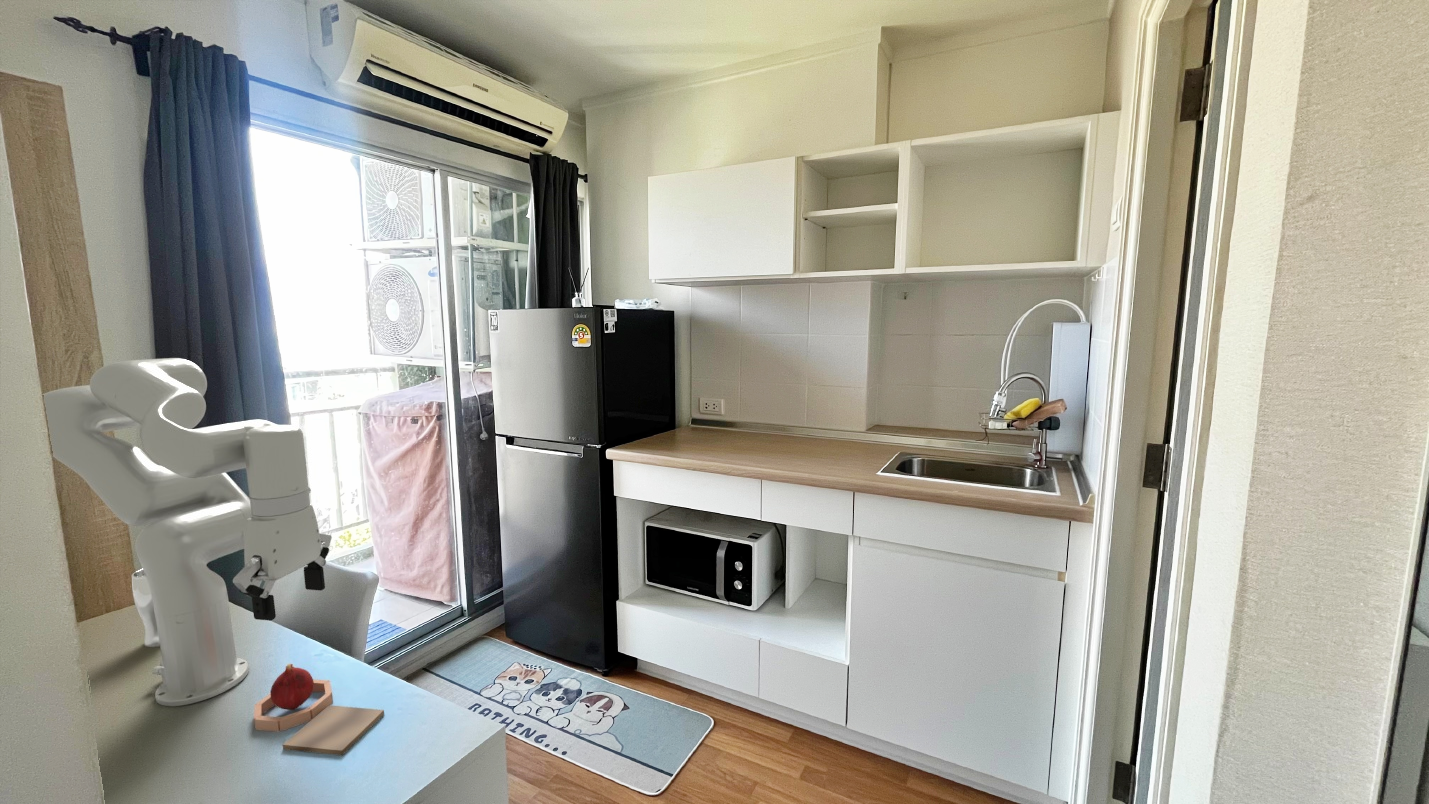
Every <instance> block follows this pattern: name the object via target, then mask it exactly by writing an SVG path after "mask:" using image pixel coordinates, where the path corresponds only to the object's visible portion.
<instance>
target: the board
mask: <svg viewBox="0 0 1429 804" xmlns="http://www.w3.org/2000/svg"><path fill="white" fill-rule="evenodd" d="M384 716H385V710H384V709H379V708H378V709H377V708H367V707H365V708H364V707H363V708H362V707H352V706H341V705H333V704H331V705H329V706H328V707H327V708H325V709H324V710H323V711H322V712H321V713H319V714H318V715H317V716H316V717H315V718H313V719H311V721H309V722H307V723H305V725H304V726H303V727H302V728H300V729H299V730H298V731H297V732H296V733H295V734H293V735H292V736H291V737H290V738H288V739H287V740H286V741H285V742H283V744H281V745H282V750H285V751H294V752H304V753H314V754H315V753H317V754H326V755H337V756H344V755H345V754H346V753H347V752H348V751H349V750H350V748H352V747H353V746H354V745H355V744H356V743H357V742H358V741H359V740H360V739H361V738H362V737H363V736H364V735H365V734H366V733H367V732H368V731H369V730H370V729H371V728H372V727H373V726H374V725H375V724H377V722H378V721H379V720H380V719H382V718H383V717H384Z"/></svg>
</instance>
